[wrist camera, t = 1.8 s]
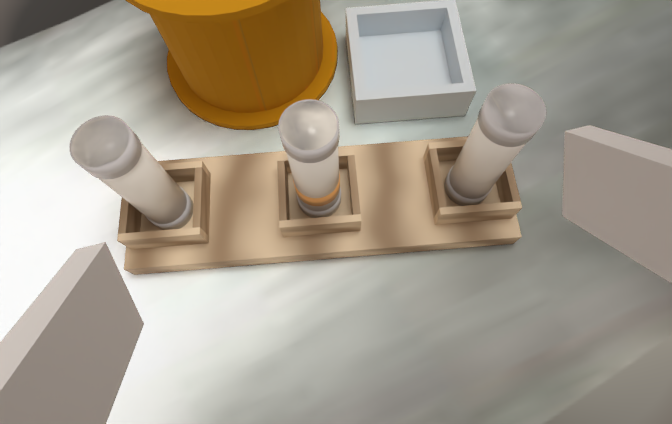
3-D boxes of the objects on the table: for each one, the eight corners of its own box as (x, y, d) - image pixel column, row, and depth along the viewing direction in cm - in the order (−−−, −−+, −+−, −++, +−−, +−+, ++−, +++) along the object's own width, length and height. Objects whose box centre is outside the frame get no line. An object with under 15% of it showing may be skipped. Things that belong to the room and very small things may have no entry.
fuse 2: (483, 165, 39) (538, 81, 28) (491, 204, 38) (553, 132, 27) (441, 169, 39) (479, 85, 28) (448, 208, 38) (491, 137, 27)
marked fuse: (339, 177, 39) (336, 97, 28) (342, 216, 38) (341, 149, 26) (297, 180, 39) (277, 101, 28) (299, 220, 38) (279, 154, 26)
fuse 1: (194, 188, 39) (133, 113, 28) (193, 229, 38) (128, 166, 26) (152, 192, 39) (74, 117, 28) (149, 232, 38) (65, 171, 26)
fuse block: (490, 144, 42) (506, 119, 38) (513, 243, 39) (533, 227, 34) (143, 172, 42) (120, 149, 38) (134, 274, 38) (108, 262, 34)
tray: (446, 29, 47) (455, -1, 44) (465, 115, 43) (476, 90, 40) (345, 37, 47) (345, 7, 43) (355, 124, 43) (356, 100, 40)
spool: (227, 163, 42) (168, 56, 28) (139, 46, 47) (52, -92, 33) (372, 68, 46) (383, -68, 32) (275, -31, 51) (248, -184, 37)
